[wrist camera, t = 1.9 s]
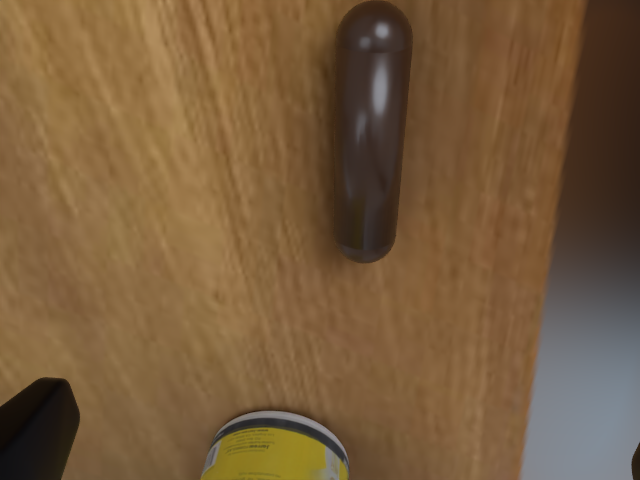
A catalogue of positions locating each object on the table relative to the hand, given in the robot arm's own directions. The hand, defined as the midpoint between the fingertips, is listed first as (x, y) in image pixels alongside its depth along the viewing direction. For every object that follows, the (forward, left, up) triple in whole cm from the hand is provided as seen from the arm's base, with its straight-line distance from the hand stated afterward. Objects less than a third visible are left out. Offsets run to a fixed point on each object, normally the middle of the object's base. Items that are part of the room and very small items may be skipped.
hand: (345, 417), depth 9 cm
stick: (0, 0, -11) cm, 11 cm away
